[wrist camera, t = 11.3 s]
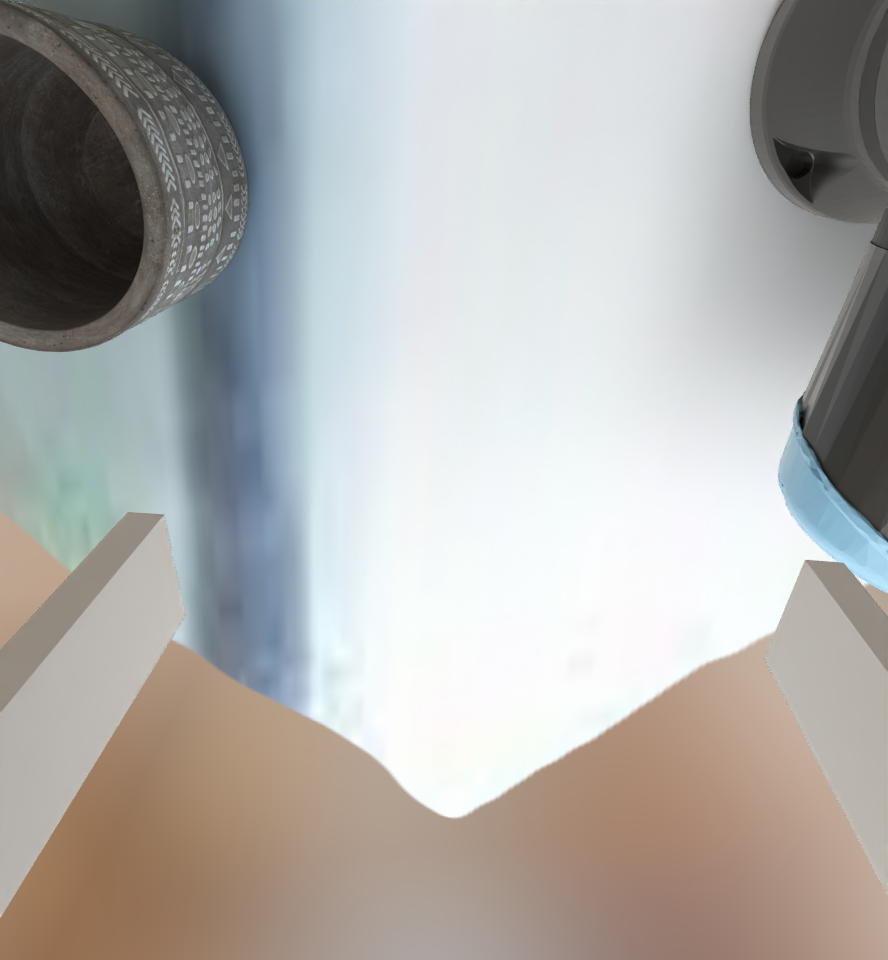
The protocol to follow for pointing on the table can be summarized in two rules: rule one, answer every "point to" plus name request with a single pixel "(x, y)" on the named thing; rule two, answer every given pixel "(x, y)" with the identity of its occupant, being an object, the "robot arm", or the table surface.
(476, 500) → the table surface
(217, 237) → the planter
